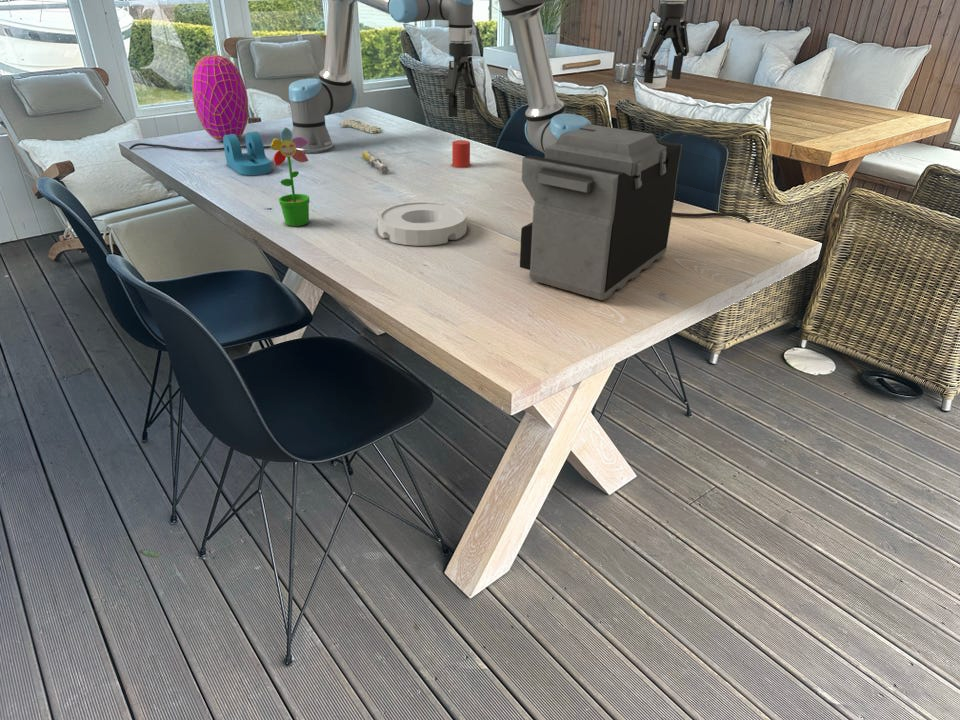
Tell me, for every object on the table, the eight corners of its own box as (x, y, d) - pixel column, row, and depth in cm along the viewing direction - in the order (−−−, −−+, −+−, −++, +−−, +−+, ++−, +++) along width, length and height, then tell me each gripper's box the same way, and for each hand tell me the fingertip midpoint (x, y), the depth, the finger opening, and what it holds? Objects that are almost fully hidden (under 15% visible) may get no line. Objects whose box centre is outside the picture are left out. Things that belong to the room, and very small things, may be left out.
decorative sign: (331, 121, 290) (351, 118, 296) (331, 123, 291) (352, 120, 296) (366, 132, 273) (387, 128, 279) (366, 134, 274) (387, 131, 280)
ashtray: (385, 214, 190) (384, 200, 188) (468, 216, 189) (468, 202, 187) (371, 244, 170) (369, 229, 168) (464, 246, 170) (464, 231, 167)
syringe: (360, 156, 244) (360, 148, 243) (371, 155, 246) (370, 147, 244) (377, 174, 224) (377, 166, 223) (389, 173, 226) (388, 165, 224)
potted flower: (284, 229, 179) (270, 130, 166) (277, 220, 185) (263, 124, 172) (319, 224, 183) (308, 127, 170) (311, 215, 188) (300, 121, 176)
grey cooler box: (589, 234, 178) (601, 114, 162) (670, 254, 167) (691, 126, 151) (511, 281, 152) (516, 142, 137) (601, 307, 141) (617, 160, 126)
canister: (473, 165, 236) (473, 142, 232) (462, 168, 232) (461, 145, 228) (460, 162, 239) (460, 139, 236) (448, 165, 236) (448, 142, 232)
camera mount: (227, 164, 233) (221, 132, 227) (257, 160, 238) (252, 129, 233) (244, 176, 220) (239, 143, 215) (276, 172, 225) (271, 139, 220)
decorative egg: (239, 132, 274) (226, 50, 259) (262, 141, 262) (250, 56, 247) (192, 139, 263) (176, 54, 248) (214, 149, 251) (198, 60, 236)
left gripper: (456, 46, 205) (457, 120, 216) (485, 39, 225) (485, 106, 236) (433, 45, 207) (435, 118, 218) (464, 38, 227) (464, 105, 238)
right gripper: (687, 0, 208) (676, 75, 219) (635, 3, 195) (626, 83, 205) (708, 2, 204) (696, 78, 214) (656, 4, 190) (646, 86, 200)
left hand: (461, 112), depth 227 cm, fingers open, 13 cm apart
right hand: (661, 81), depth 210 cm, fingers open, 13 cm apart
